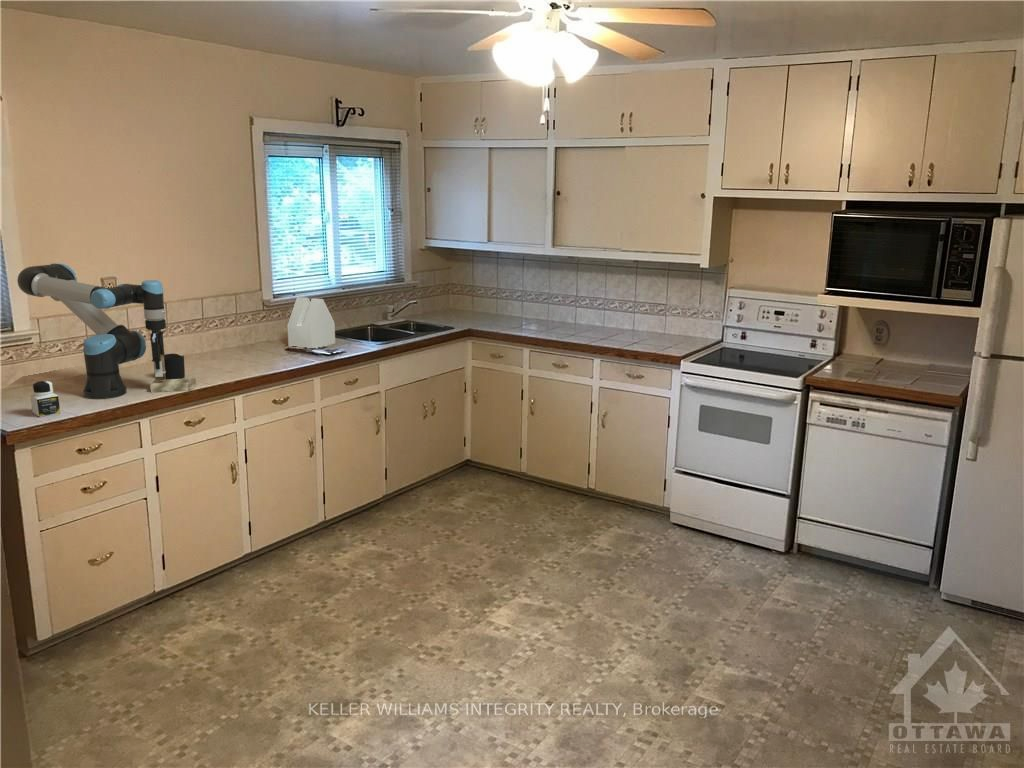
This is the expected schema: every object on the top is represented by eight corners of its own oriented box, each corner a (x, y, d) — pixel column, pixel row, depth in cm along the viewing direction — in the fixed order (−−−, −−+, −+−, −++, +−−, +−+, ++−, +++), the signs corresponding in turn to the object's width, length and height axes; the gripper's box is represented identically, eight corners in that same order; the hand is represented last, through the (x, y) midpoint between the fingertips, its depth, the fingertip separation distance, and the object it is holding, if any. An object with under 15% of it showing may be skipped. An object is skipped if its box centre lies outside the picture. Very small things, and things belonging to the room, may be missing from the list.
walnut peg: (154, 380, 318) (151, 356, 316) (156, 377, 322) (153, 354, 320) (165, 380, 319) (163, 356, 317) (167, 377, 323) (164, 354, 320)
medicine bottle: (39, 417, 282) (34, 385, 278) (32, 413, 286) (27, 382, 283) (60, 413, 287) (56, 382, 284) (53, 409, 291) (49, 378, 288)
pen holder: (186, 375, 346) (184, 353, 343) (184, 380, 337) (182, 357, 334) (163, 376, 343) (161, 354, 340) (161, 381, 334) (159, 358, 332)
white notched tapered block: (312, 340, 424) (310, 294, 418) (335, 343, 418) (333, 297, 412) (288, 346, 407) (285, 299, 401) (312, 349, 401) (309, 301, 395)
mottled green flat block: (151, 392, 317) (150, 385, 316) (155, 386, 325) (154, 379, 324) (192, 390, 320) (192, 383, 319) (196, 385, 329) (195, 378, 328)
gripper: (161, 322, 307) (166, 380, 313) (168, 315, 323) (173, 369, 329) (140, 323, 305) (146, 380, 311) (149, 315, 321) (154, 370, 327)
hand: (160, 375), depth 320 cm, fingers closed on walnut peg, 4 cm apart
